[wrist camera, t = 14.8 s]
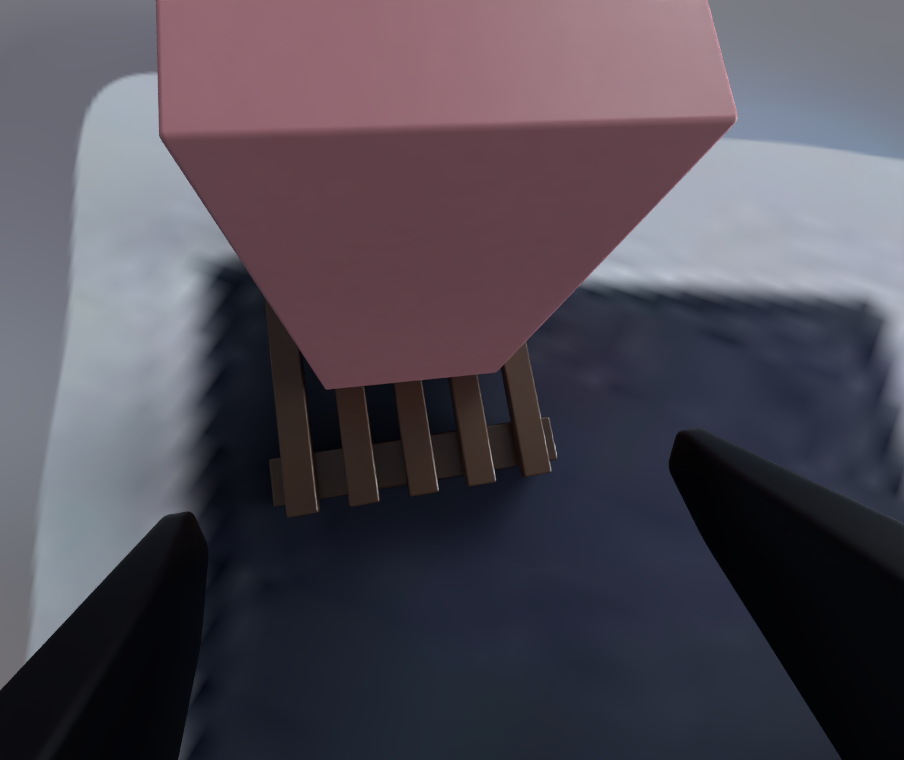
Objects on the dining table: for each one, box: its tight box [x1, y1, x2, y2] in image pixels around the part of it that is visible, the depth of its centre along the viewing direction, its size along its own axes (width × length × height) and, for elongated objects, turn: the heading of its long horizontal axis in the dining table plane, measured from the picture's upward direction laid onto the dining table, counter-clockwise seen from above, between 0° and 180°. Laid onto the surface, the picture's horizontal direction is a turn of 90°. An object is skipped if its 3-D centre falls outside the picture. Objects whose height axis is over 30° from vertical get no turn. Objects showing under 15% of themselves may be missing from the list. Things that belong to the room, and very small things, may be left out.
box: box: [156, 0, 738, 390], centre depth 12 cm, size 7×6×13 cm
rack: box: [264, 297, 557, 517], centre depth 20 cm, size 12×10×3 cm
